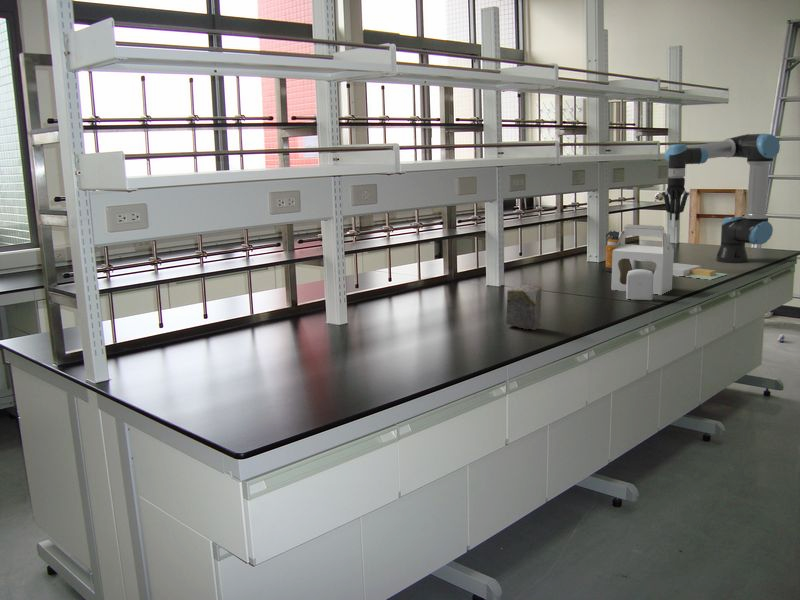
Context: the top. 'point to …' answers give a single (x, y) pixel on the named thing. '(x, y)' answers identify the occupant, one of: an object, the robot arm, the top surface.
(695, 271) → the light orange flat block
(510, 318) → the geological specimen
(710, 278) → the mat
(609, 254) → the canister
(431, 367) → the top surface
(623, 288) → the gable box
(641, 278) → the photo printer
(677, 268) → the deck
